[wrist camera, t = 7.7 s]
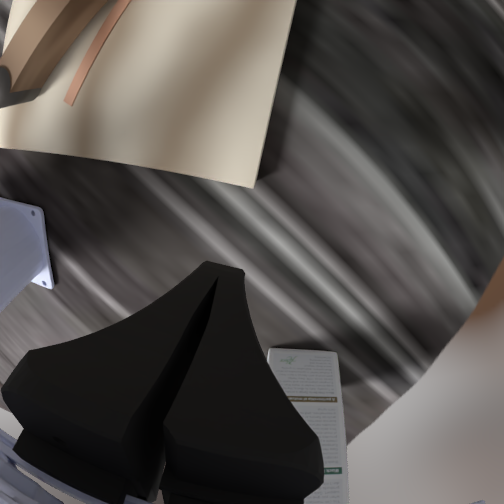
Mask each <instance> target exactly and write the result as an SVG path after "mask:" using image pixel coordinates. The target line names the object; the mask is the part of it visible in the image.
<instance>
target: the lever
mask: <svg viewBox="0 0 504 504" xmlns="http://www.w3.org/2000/svg"><path fill="white" fill-rule="evenodd" d="M107 1H108V0H37V1H36V2H35V4H34V5H33V7H32V8H31V9H30V11H29V12H28V14H27V15H26V17H25V18H24V20H23V21H22V23H21V25H20V26H19V28H18V29H17V31H16V32H15V34H14V36H13V37H12V39H11V41H10V43H9V44H8V46H7V48H6V50H5V51H4V53H3V55H2V57H1V59H0V109H1V108H4V107H9V106H13V105H17V104H21V103H26V102H31V101H33V100H35V99H36V98H37V97H38V95H39V93H40V91H41V89H42V87H43V85H44V83H45V82H46V80H47V79H48V77H49V76H50V74H51V73H52V71H53V70H54V68H55V67H56V65H57V64H58V62H59V61H60V60H61V58H62V57H63V55H64V54H65V53H66V51H67V50H68V48H69V47H70V46H71V44H72V43H73V42H74V41H75V39H76V38H77V37H78V35H79V34H80V33H81V32H82V30H83V29H84V28H85V27H86V25H87V24H88V23H89V22H90V21H91V20H92V18H93V17H94V16H95V15H96V14H97V13H98V11H99V10H100V9H101V8H102V7H103V6H104V5H105V4H106V3H107Z"/></svg>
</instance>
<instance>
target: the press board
mask: <svg viewBox="0 0 504 504" xmlns="http://www.w3.org/2000/svg"><path fill="white" fill-rule="evenodd" d="M36 1H37V0H13V3H12V7H11V11H10V16H9V20H8V25H7V31H6V36H5V42H4V49H3V53H4V51H5V50H6V48H7V46H8V44H9V43H10V41H11V39H12V37H13V36H14V34H15V32H16V31H17V29H18V28H19V26H20V25H21V23H22V21H23V20H24V18H25V17H26V15H27V14H28V12H29V11H30V9H31V8H32V7H33V5H34V4H35V2H36ZM296 3H297V0H108V1H107V3H106V4H105V5H104V6H103V7H102V8H101V9H100V10H99V11H98V13H97V14H96V15H95V16H94V17H93V18H92V20H91V21H90V22H89V23H88V24H87V25H86V27H85V28H84V29H83V30H82V32H81V33H80V34H79V35H78V37H77V38H76V39H75V41H74V42H73V43H72V44H71V46H70V47H69V48H68V50H67V51H66V53H65V54H64V55H63V57H62V58H61V60H60V61H59V62H58V64H57V65H56V67H55V68H54V70H53V71H52V73H51V74H50V76H49V77H48V79H47V80H46V82H45V83H44V85H43V87H42V89H41V91H40V93H39V95H38V97H37V98H36V99H35V100H33V101H31V102H26V103H21V104H17V105H13V106H9V107H4V108H1V109H0V148H9V149H19V150H29V151H38V152H47V153H55V154H63V155H70V156H78V157H85V158H92V159H99V160H105V161H112V162H118V163H124V164H130V165H136V166H142V167H148V168H154V169H159V170H165V171H170V172H175V173H181V174H186V175H191V176H196V177H201V178H206V179H211V180H216V181H220V182H225V183H230V184H234V185H239V186H243V187H248V188H252V189H253V188H254V186H255V183H256V180H257V175H258V171H259V166H260V162H261V157H262V153H263V148H264V143H265V139H266V134H267V130H268V125H269V121H270V116H271V112H272V107H273V103H274V98H275V94H276V90H277V85H278V81H279V76H280V72H281V67H282V63H283V59H284V54H285V50H286V46H287V41H288V37H289V33H290V28H291V24H292V20H293V15H294V11H295V7H296Z"/></svg>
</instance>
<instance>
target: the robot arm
mask: <svg viewBox="0 0 504 504" xmlns="http://www.w3.org/2000/svg"><path fill="white" fill-rule="evenodd" d="M34 212H35V213H34ZM244 276H245V272H244V271H243V269H239V268H234V267H230V266H226V265H222V264H218V263H213V262H209V261H205V262H203V263H202V264H201V265H200V266H199V267H198V268H197V269H196V270H194V271H193V272H192V273H191V274H190V275H189V276H187V277H186V278H185V279H184V280H183V281H181V282H180V283H179V284H178V285H176V286H175V287H174V288H173V289H171V290H170V291H169V292H167V293H166V294H164V295H163V296H161V297H160V298H159V299H157V300H156V301H154V302H153V303H151V304H150V305H148V306H147V307H145V308H143V309H142V310H140V311H138V312H137V313H135V314H133V315H131V316H129V317H128V318H126V319H124V320H122V321H120V322H118V323H115V324H113V325H111V326H109V327H106V328H104V329H102V330H100V331H97V332H95V333H92V334H89V335H86V336H84V337H80V338H77V339H74V340H71V341H68V342H64V343H61V344H56V345H52V346H48V347H43V348H39V349H34V350H29V351H28V352H27V354H26V355H25V356H24V357H23V358H22V359H21V361H20V362H19V363H18V365H17V366H16V368H15V369H14V370H13V372H12V373H11V375H10V376H9V378H8V379H7V381H6V382H5V384H4V385H3V387H2V388H1V393H2V397H3V400H4V401H5V403H6V405H7V406H8V408H9V409H10V411H11V412H12V413H13V415H14V416H15V417H16V419H17V420H18V421H19V423H20V424H21V425H22V427H23V428H24V429H23V431H22V433H21V434H20V436H19V438H18V440H16V439H15V438H13V437H12V436H10V435H9V434H7V433H6V432H4V431H3V430H1V429H0V504H64V503H63V502H62V501H60V500H59V499H57V498H55V497H54V496H53V495H51V494H50V493H48V492H47V491H46V490H44V489H43V488H42V487H41V486H40V485H39V484H38V483H36V482H35V481H33V480H32V479H30V478H29V477H27V476H26V475H24V474H23V473H21V472H20V471H19V470H17V467H16V465H17V466H19V467H20V468H22V469H24V470H25V471H27V472H28V473H30V474H32V475H33V476H35V477H36V478H38V479H40V480H42V481H43V482H45V483H47V484H49V485H50V486H52V487H54V488H56V489H58V490H60V491H62V492H63V493H65V494H67V495H69V496H71V497H73V498H75V499H77V500H79V501H82V502H84V503H86V504H153V503H152V502H154V501H156V498H157V494H158V490H159V489H160V490H162V495H163V499H164V504H304V498H306V497H307V496H309V495H310V494H311V493H313V492H314V491H316V490H317V489H318V488H319V487H320V486H321V485H322V484H323V483H324V462H323V455H322V450H321V445H320V441H319V437H318V436H317V435H316V434H315V432H314V431H313V430H312V429H311V428H310V426H309V425H308V424H307V423H306V422H305V420H304V419H303V418H302V416H301V415H300V414H299V413H298V411H297V410H296V408H295V407H294V406H293V404H292V403H291V401H290V400H289V398H288V397H287V395H286V394H285V392H284V390H283V389H282V387H281V385H280V384H279V382H278V380H277V379H276V377H275V375H274V374H273V372H272V370H271V368H270V366H269V364H268V362H267V360H266V358H265V356H264V353H263V351H262V349H261V346H260V344H259V341H258V339H257V336H256V333H255V330H254V327H253V324H252V320H251V317H250V313H249V309H248V304H247V299H246V293H245V284H244ZM30 282H34V283H36V284H39V285H41V286H44V287H46V288H49V289H52V288H53V287H54V280H53V275H52V269H51V264H50V258H49V251H48V244H47V237H46V229H45V221H44V212H43V210H42V209H41V208H40V207H37V206H33V205H29V204H25V203H21V202H17V201H13V200H9V199H5V198H1V197H0V313H1V311H2V310H3V309H4V308H5V307H6V306H7V305H8V304H9V303H10V302H11V301H12V300H13V299H14V298H15V297H16V296H17V295H18V294H19V293H20V292H21V291H22V290H23V289H24V288H25V287H26V286H27V285H28V284H29V283H30ZM165 462H166V465H165ZM15 464H16V465H15ZM164 466H165V468H164ZM163 469H164V471H163ZM162 474H163V475H162ZM471 504H485V501H484V500H481V501H478V502H474V503H471Z"/></svg>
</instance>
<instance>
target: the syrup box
mask: <svg viewBox="0 0 504 504" xmlns="http://www.w3.org/2000/svg"><path fill="white" fill-rule="evenodd" d="M267 362H268V364H269V366H270V368H271V370H272V372H273V374H274V375H275V377H276V379H277V380H278V382H279V384H280V385H281V387H282V389H283V390H284V392H285V394H286V395H287V397H288V398H289V400H290V401H291V403H292V404H293V406H294V407H295V408H296V410H297V411H298V413H299V414H300V415H301V416H302V418H303V419H304V420H305V422H306V423H307V424H308V425H309V426H310V428H311V429H312V430H313V431H314V432H315V434H316V435H317V436H318V437H319V441H320V445H321V450H322V455H323V462H324V483H323V484H322V485H321V486H320V487H319V488H318V489H317V490H316V491H314V492H313V493H311V494H310V495H309V496H307V497H306V498H304V504H349V484H348V463H347V445H346V432H345V420H344V410H343V400H342V390H341V379H340V371H339V363H338V355H337V353H336V352H332V351H319V350H300V349H282V348H270V349H269V352H268V358H267Z"/></svg>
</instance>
